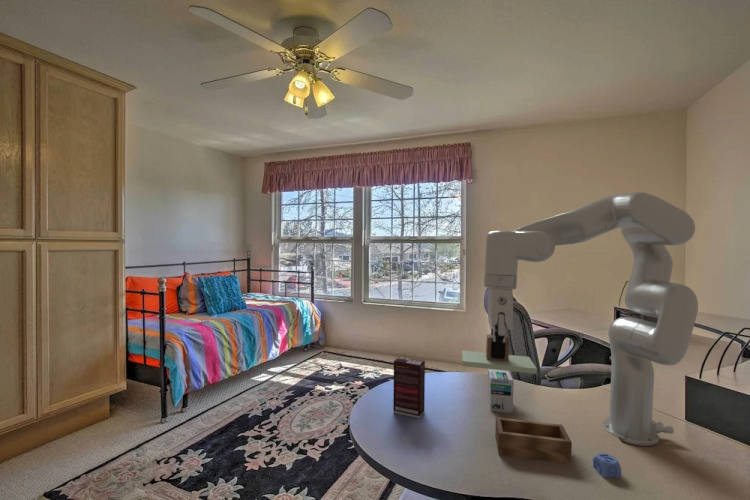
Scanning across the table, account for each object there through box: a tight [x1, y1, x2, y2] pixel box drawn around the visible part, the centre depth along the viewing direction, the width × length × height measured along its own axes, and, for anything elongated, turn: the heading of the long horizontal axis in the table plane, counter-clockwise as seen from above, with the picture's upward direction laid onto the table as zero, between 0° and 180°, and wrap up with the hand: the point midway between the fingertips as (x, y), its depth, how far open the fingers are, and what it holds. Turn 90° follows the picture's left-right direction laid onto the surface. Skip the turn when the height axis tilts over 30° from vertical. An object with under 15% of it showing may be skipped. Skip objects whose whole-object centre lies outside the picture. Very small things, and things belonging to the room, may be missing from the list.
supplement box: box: [392, 356, 426, 420], centre depth 111 cm, size 9×5×16 cm, turn 65°
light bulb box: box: [486, 369, 515, 414], centre depth 116 cm, size 11×7×11 cm, turn 168°
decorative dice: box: [592, 452, 622, 479], centre depth 83 cm, size 4×4×4 cm
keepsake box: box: [494, 416, 573, 465], centre depth 91 cm, size 16×8×6 cm, turn 77°
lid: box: [461, 333, 538, 375], centre depth 91 cm, size 17×9×7 cm, turn 78°
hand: (496, 355), depth 91 cm, fingers closed on lid, 3 cm apart
